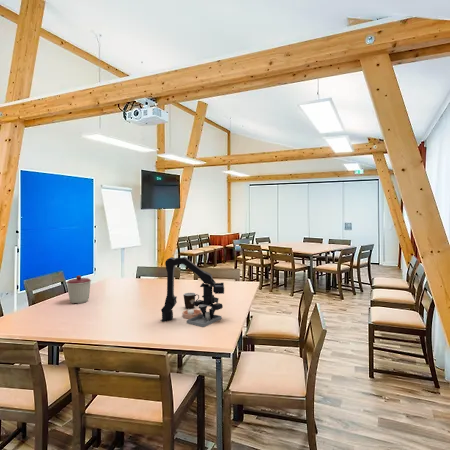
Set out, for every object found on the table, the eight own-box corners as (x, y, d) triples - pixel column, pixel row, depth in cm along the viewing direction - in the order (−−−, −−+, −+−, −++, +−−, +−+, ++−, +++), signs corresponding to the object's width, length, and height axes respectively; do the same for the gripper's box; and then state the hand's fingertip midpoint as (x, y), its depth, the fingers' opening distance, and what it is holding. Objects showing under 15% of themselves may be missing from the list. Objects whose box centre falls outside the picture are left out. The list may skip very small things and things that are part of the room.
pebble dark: (209, 320, 200) (208, 313, 200) (204, 319, 202) (203, 312, 202) (212, 318, 203) (212, 312, 203) (207, 317, 205) (207, 311, 205)
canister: (66, 301, 258) (65, 274, 258) (90, 298, 267) (90, 272, 266) (67, 306, 242) (66, 278, 242) (92, 303, 250) (92, 276, 250)
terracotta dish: (193, 321, 202) (193, 316, 202) (178, 317, 209) (178, 313, 209) (205, 316, 212) (205, 311, 212) (191, 313, 219) (191, 308, 219)
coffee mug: (184, 310, 226) (183, 295, 226) (183, 306, 235) (183, 293, 235) (200, 308, 229) (200, 294, 228) (199, 305, 237) (198, 292, 237)
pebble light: (191, 318, 206) (191, 311, 206) (186, 317, 208) (186, 310, 208) (195, 316, 209) (195, 309, 209) (190, 315, 211) (190, 309, 211)
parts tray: (203, 328, 188) (203, 324, 188) (186, 324, 196) (186, 320, 196) (221, 320, 203) (221, 316, 203) (205, 316, 210) (205, 312, 210)
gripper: (227, 292, 203) (227, 317, 204) (204, 289, 214) (205, 312, 214) (216, 296, 194) (217, 322, 195) (193, 292, 205) (193, 317, 205)
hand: (208, 318), depth 203 cm, fingers open, 5 cm apart
